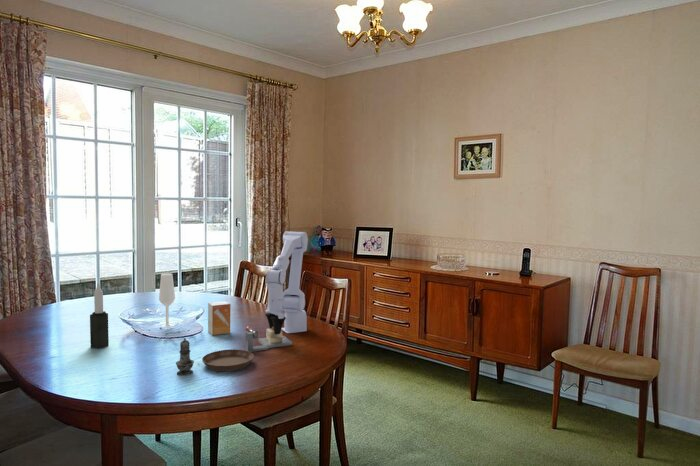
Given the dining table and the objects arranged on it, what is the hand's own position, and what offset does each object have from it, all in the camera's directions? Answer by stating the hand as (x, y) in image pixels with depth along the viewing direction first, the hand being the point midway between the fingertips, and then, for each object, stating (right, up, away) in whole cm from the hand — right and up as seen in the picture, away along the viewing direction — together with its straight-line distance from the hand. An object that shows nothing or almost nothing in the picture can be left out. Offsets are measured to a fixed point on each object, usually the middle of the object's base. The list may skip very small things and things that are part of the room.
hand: (275, 332), depth 195 cm
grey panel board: (-3, -5, -2) cm, 6 cm away
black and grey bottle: (-67, -4, -8) cm, 68 cm away
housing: (0, -3, 0) cm, 3 cm away
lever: (-9, 0, -5) cm, 10 cm away
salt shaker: (-25, -7, -33) cm, 42 cm away
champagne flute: (-51, -2, +20) cm, 55 cm away
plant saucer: (-13, -7, -24) cm, 28 cm away
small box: (-26, -3, +14) cm, 30 cm away
